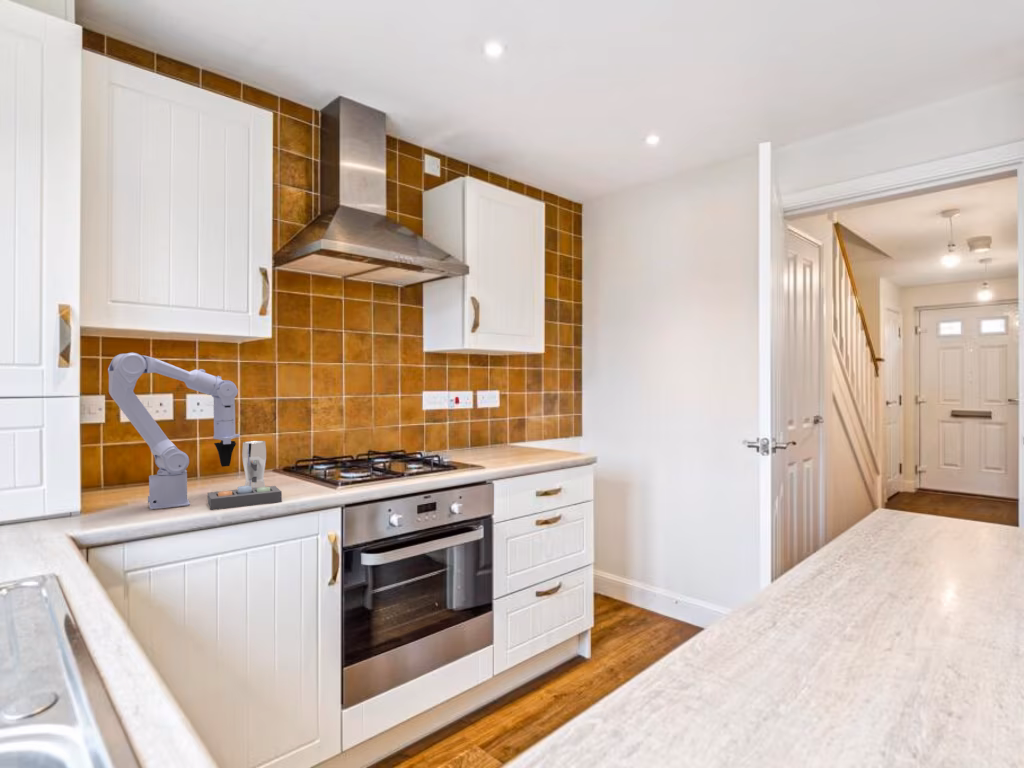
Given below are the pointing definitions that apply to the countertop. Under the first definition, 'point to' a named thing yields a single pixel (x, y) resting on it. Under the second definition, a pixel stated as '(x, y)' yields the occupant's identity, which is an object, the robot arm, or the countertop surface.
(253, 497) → the button panel
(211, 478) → the countertop surface
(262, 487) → the green button
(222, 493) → the orange button
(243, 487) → the blue button
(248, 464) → the beer glass
